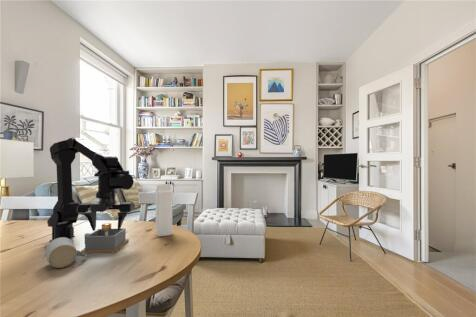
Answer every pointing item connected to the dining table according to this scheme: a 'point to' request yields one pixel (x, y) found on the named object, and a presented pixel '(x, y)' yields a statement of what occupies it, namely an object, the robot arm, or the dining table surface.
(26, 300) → the dining table surface
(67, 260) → the ceramic mug
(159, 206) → the milk
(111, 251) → the grey square tray
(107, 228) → the plunger
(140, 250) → the dining table surface
